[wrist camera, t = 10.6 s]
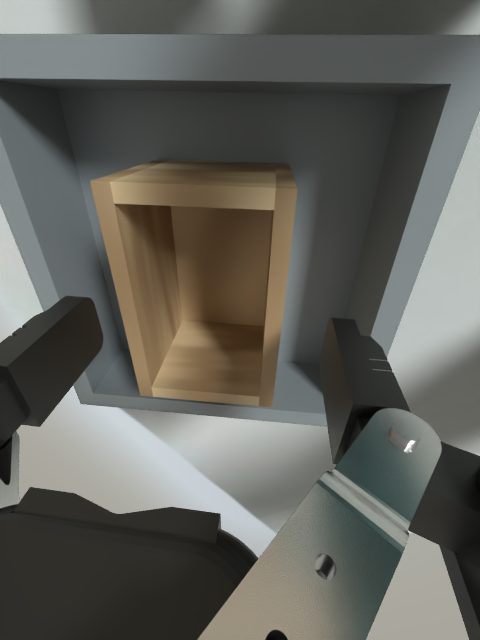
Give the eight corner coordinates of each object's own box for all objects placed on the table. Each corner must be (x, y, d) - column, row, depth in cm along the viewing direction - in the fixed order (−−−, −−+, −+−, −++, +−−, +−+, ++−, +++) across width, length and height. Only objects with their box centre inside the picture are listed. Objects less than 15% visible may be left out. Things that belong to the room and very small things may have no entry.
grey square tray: (426, 65, 12) (508, 35, 8) (342, 367, 21) (359, 429, 17) (41, 62, 13) (-68, 34, 9) (117, 350, 22) (81, 403, 18)
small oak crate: (289, 163, 13) (297, 188, 8) (273, 329, 18) (272, 407, 13) (156, 159, 14) (90, 181, 9) (176, 322, 19) (140, 395, 14)
